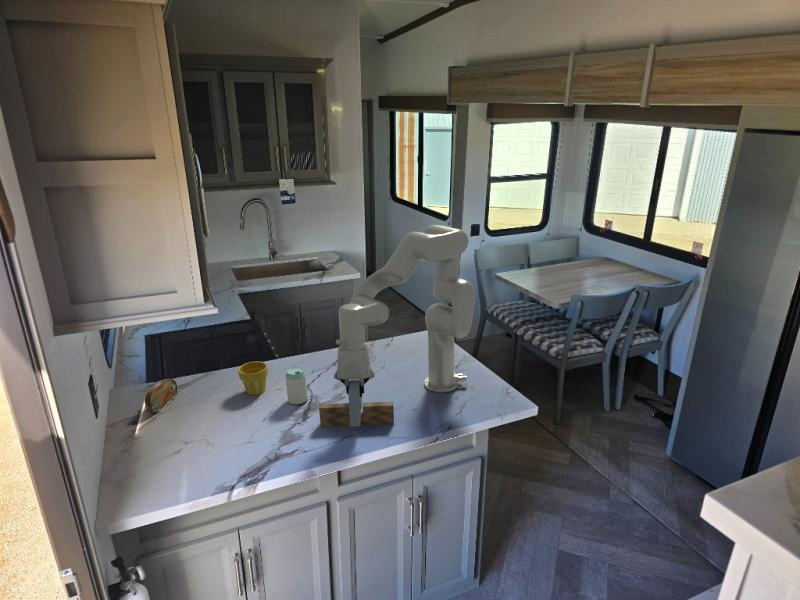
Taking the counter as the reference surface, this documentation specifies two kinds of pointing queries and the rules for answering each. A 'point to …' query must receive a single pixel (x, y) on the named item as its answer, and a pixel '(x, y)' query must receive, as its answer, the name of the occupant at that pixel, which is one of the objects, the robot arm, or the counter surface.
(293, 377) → the can
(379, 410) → the walnut slotted board
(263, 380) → the plant pot
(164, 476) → the counter surface
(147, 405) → the tin
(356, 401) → the plain grey board
